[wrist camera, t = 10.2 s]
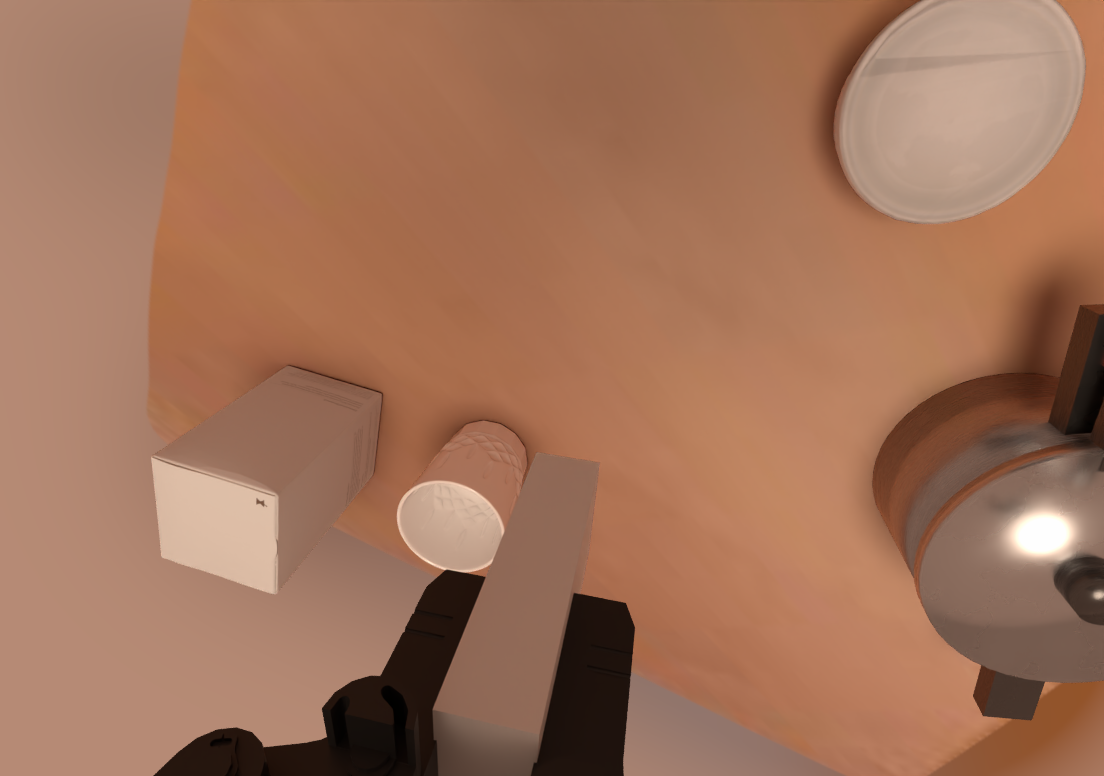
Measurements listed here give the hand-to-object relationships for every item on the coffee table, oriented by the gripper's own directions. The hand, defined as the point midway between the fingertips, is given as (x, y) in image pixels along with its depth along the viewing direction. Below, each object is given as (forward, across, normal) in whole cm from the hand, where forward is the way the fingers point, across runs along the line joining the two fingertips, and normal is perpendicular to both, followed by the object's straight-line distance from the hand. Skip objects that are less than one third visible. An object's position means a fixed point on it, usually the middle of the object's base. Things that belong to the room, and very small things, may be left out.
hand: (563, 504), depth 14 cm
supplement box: (+29, -24, -19) cm, 43 cm away
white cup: (+29, -10, -20) cm, 37 cm away
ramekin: (+31, +15, +9) cm, 35 cm away
